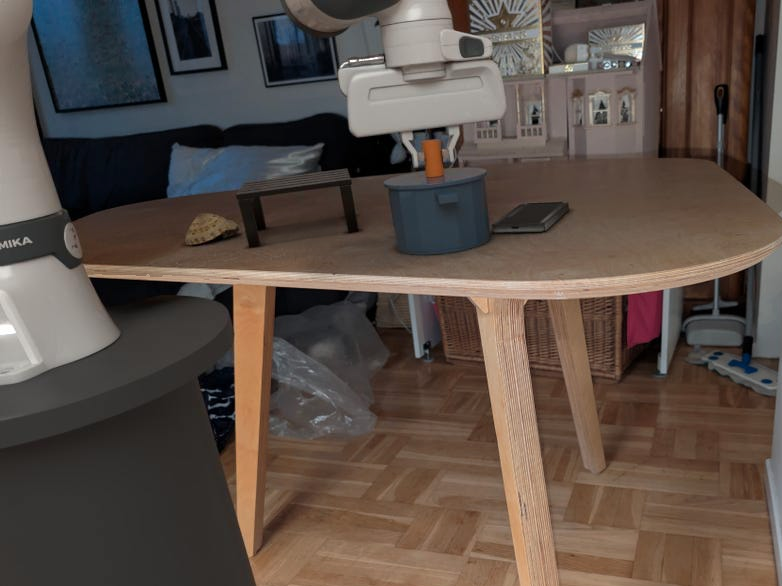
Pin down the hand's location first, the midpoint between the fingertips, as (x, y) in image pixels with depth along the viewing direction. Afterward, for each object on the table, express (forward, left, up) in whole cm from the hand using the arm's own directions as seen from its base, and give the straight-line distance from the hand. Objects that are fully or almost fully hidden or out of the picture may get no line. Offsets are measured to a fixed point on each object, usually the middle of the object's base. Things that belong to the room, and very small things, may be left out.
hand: (433, 165), depth 91 cm
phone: (+14, +5, -10) cm, 18 cm away
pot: (0, 0, -10) cm, 10 cm away
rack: (-19, +24, -10) cm, 32 cm away
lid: (0, 0, -2) cm, 2 cm away
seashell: (-34, +28, -10) cm, 45 cm away
